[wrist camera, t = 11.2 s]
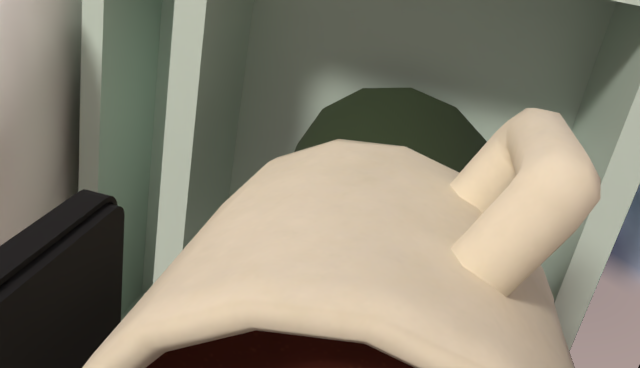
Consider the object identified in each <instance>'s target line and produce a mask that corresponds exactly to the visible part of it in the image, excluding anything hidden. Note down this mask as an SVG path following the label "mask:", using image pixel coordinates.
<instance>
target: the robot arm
mask: <svg viewBox="0 0 640 368" xmlns="http://www.w3.org/2000/svg"><path fill="white" fill-rule="evenodd" d="M124 219H125V214H124V209H123V208H122V207H121V206H118V205H117V201H116V199H115V198H114V197H113V196H110V195H106V194H102V193H98V192H94V191H90V190H86V189H83V190H81V191H79V192H77V193H76V194H74V195H73V196H71V197H70V198H69V199H67V200H66V201H64V202H63V203H61V204H60V205H58V206H57V207H56V208H54V209H53V210H51V211H50V212H48V213H47V214H45V215H44V216H43V217H41V218H40V219H38V220H37V221H35V222H34V223H32V224H31V225H30V226H28V227H27V228H25V229H24V230H22V231H21V232H19V233H18V234H17V235H15V236H14V237H12V238H11V239H9V240H8V241H6V242H5V243H4V244H2V245H1V246H0V368H82V367H83V366H84V365H85V363H86V362H87V361H88V359H89V358H90V357H91V356H92V354H93V353H94V352H95V351H96V350H97V348H98V347H99V346H100V345H101V344H102V343H103V342H104V340H105V339H106V338H107V337H108V336H109V335H110V333H111V332H112V331H113V330H114V329H115V328H116V327H117V325H118V324H119V323H120V322H121V301H122V274H123V246H124ZM638 368H640V365H639V367H638Z"/></svg>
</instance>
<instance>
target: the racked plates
mask: <svg viewBox="0 0 640 368" xmlns="http://www.w3.org/2000/svg"><path fill="white" fill-rule="evenodd" d="M81 28H82V0H0V246H1V245H2V244H4V243H5V242H6V241H8V240H9V239H11V238H12V237H14V236H15V235H17V234H18V233H19V232H21V231H22V230H24V229H25V228H27V227H28V226H30V225H31V224H32V223H34V222H35V221H37V220H38V219H40V218H41V217H43V216H44V215H45V214H47V213H48V212H50V211H51V210H53V209H54V208H56V207H57V206H58V205H60V204H61V203H63V202H64V201H66V200H67V199H69V198H70V197H71V196H73V195H74V194H76V193H77V192H78V188H79V135H80V81H81Z"/></svg>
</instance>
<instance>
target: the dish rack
mask: <svg viewBox="0 0 640 368" xmlns="http://www.w3.org/2000/svg"><path fill="white" fill-rule="evenodd" d="M362 88H413V89H416V90H418V91H420V92H423V93H425V94H427V95H429V96H432V97H434V98H436V99H439V100H441V101H443V102H445V103H448V104H450V105H452V106H455V107H457V109H458V110H459V111H460V112H461V113H462V114H463V115H464V116H465V118H466V119H467V120H468V121H469V122H470V123H471V124H472V125H473V126H474V128H475V129H476V130H477V131H478V132H479V133H480V134H481V135H482V137H483V138H484V139H485V140H486V141H488V140H489V139H490V138H491V137H492V136H493V134H494V133H495V132H496V131H497V130H498V129H499V128H500V127H501V126H503V125H504V124H505V123H506V122H507V121H508V120H509V119H511V118H512V117H514V116H515V115H517V114H518V113H520V112H521V111H523V110H524V109H526V108H538V109H543V110H548V111H552V112H557V113H560V114H561V116H562V117H563V119H564V120H565V122H566V123H567V125H568V126H569V128H570V129H571V131H572V132H573V134H574V135H575V137H576V138H577V139H578V141H579V142H580V144H581V145H582V147H583V148H584V150H585V151H586V153H587V154H588V156H589V158H590V160H591V162H592V164H593V165H594V167H595V169H596V171H597V173H598V175H599V177H600V179H601V192H600V200H599V202H598V203H597V204H596V206H595V207H594V208H593V210H592V211H591V212H590V213H589V215H588V216H587V217H586V219H585V220H584V221H583V222H582V224H581V225H580V226H579V228H578V229H577V230H576V231H575V232H574V233H573V234H572V235H571V236H570V237H569V238H568V239H567V240H566V241H565V242H564V243H563V244H562V245H561V246H560V247H559V248H558V249H557V250H556V251H555V252H554V253H553V254H552V255H551V256H550V257H548V258H547V259H546V260H545V261H544V262H543V263H542V264H541V266H542V268H543V270H544V273H545V275H546V278H547V281H548V284H549V286H550V289H551V292H552V295H553V297H554V304H555V308H556V311H557V314H558V318H559V321H560V325H561V328H562V331H563V335H564V338H565V340H566V343H567V346H568V349H569V351H570V349H571V347H572V344H573V342H574V339H575V337H576V335H577V332H578V330H579V327H580V325H581V322H582V320H583V318H584V315H585V313H586V310H587V308H588V305H589V303H590V301H591V299H592V296H593V294H594V291H595V289H596V286H597V284H598V282H599V280H600V277H601V275H602V272H603V270H604V268H605V265H606V263H607V260H608V258H609V256H610V253H611V251H612V248H613V246H614V244H615V241H616V239H617V236H618V234H619V232H620V229H621V227H622V224H623V222H624V220H625V217H626V215H627V213H628V210H629V208H630V205H631V203H632V201H633V198H634V196H635V193H636V191H637V189H638V186H639V184H640V0H82V28H81V81H80V135H79V188H78V192H79V191H81V190H83V189H86V190H90V191H94V192H98V193H102V194H106V195H110V196H113V197H114V198H115V199H116V201H117V205H118V206H121V207H122V208H123V209H124V214H125V219H124V246H123V274H122V301H121V321H122V320H123V318H124V317H125V316H126V315H127V314H128V313H129V311H130V310H131V309H132V308H133V307H134V306H135V305H136V303H137V302H138V301H139V300H140V299H141V298H142V296H143V295H144V294H145V293H146V292H147V291H148V290H149V288H150V287H151V286H152V285H153V284H154V283H155V281H156V280H157V279H158V278H159V277H160V276H161V274H162V273H163V272H164V271H165V270H166V269H167V268H168V266H169V265H170V264H171V263H172V262H173V261H174V259H175V258H176V257H177V256H178V255H179V254H180V253H181V251H182V250H183V249H184V248H185V247H186V246H187V244H188V243H189V242H190V241H191V240H192V239H193V237H194V236H195V235H196V234H197V233H198V232H199V231H200V229H201V228H202V227H203V226H204V225H205V224H206V222H207V221H208V220H209V219H210V218H211V217H212V216H213V214H214V213H215V212H216V211H217V210H218V209H219V207H220V206H221V205H222V204H223V203H224V202H225V201H226V200H227V199H229V198H230V197H231V196H232V195H233V194H234V193H235V192H236V191H237V190H238V189H239V188H240V187H242V186H243V185H244V184H245V183H246V182H247V181H248V180H249V179H250V178H251V177H252V176H254V175H255V174H256V173H257V172H258V171H259V170H260V169H261V168H262V167H263V166H264V165H265V164H267V163H268V162H270V161H271V160H273V159H275V158H277V157H280V156H283V155H287V154H290V153H293V152H294V151H295V149H296V146H297V144H298V142H299V141H300V140H301V138H302V137H303V135H304V134H305V133H306V131H307V130H308V128H309V127H310V126H311V124H312V123H313V121H314V120H315V119H316V117H317V116H318V114H319V113H320V112H321V110H322V109H323V108H325V107H327V106H329V105H331V104H333V103H335V102H337V101H339V100H340V99H342V98H344V97H346V96H348V95H350V94H352V93H354V92H356V91H358V90H360V89H362Z"/></svg>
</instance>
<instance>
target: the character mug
mask: <svg viewBox="0 0 640 368" xmlns="http://www.w3.org/2000/svg"><path fill="white" fill-rule="evenodd" d="M600 192H601V179H600V177H599V175H598V173H597V171H596V169H595V167H594V165H593V164H592V162H591V160H590V158H589V156H588V154H587V153H586V151H585V150H584V148H583V147H582V145H581V144H580V142H579V141H578V139H577V138H576V137H575V135H574V134H573V132H572V131H571V129H570V128H569V126H568V125H567V123H566V122H565V120H564V119H563V117H562V116H561V114H560V113H557V112H552V111H548V110H543V109H538V108H526V109H524V110H523V111H521V112H520V113H518V114H517V115H515V116H514V117H512V118H511V119H509V120H508V121H507V122H506V123H505V124H504V125H503V126H501V127H500V128H499V129H498V130H497V131H496V132H495V133H494V134H493V136H492V137H491V138H490V139H489V140H488V141H486V140H485V139H484V138H483V137H482V135H481V134H480V133H479V132H478V131H477V130H476V129H475V128H474V126H473V125H472V124H471V123H470V122H469V121H468V120H467V119H466V118H465V116H464V115H463V114H462V113H461V112H460V111H459V110H458V109H457V107H455V106H452V105H450V104H448V103H445V102H443V101H441V100H439V99H436V98H434V97H432V96H429V95H427V94H425V93H423V92H420V91H418V90H416V89H413V88H362V89H360V90H358V91H356V92H354V93H352V94H350V95H348V96H346V97H344V98H342V99H340V100H339V101H337V102H335V103H333V104H331V105H329V106H327V107H325V108H323V109H322V110H321V112H320V113H319V114H318V116H317V117H316V119H315V120H314V121H313V123H312V124H311V126H310V127H309V128H308V130H307V131H306V133H305V134H304V135H303V137H302V138H301V140H300V141H299V142H298V144H297V146H296V149H295V151H294V152H293V153H290V154H287V155H283V156H280V157H277V158H275V159H273V160H271V161H270V162H268V163H267V164H265V165H264V166H263V167H262V168H261V169H260V170H259V171H258V172H257V173H256V174H255V175H254V176H252V177H251V178H250V179H249V180H248V181H247V182H246V183H245V184H244V185H243V186H242V187H240V188H239V189H238V190H237V191H236V192H235V193H234V194H233V195H232V196H231V197H230V198H229V199H227V200H226V201H225V202H224V203H223V204H222V205H221V206H220V207H219V209H218V210H217V211H216V212H215V213H214V214H213V216H212V217H211V218H210V219H209V220H208V221H207V222H206V224H205V225H204V226H203V227H202V228H201V229H200V231H199V232H198V233H197V234H196V235H195V236H194V237H193V239H192V240H191V241H190V242H189V243H188V244H187V246H186V247H185V248H184V249H183V250H182V251H181V253H180V254H179V255H178V256H177V257H176V258H175V259H174V261H173V262H172V263H171V264H170V265H169V266H168V268H167V269H166V270H165V271H164V272H163V273H162V274H161V276H160V277H159V278H158V279H157V280H156V281H155V283H154V284H153V285H152V286H151V287H150V288H149V290H148V291H147V292H146V293H145V294H144V295H143V296H142V298H141V299H140V300H139V301H138V302H137V303H136V305H135V306H134V307H133V308H132V309H131V310H130V311H129V313H128V314H127V315H126V316H125V317H124V318H123V320H122V321H121V322H120V323H119V324H118V325H117V327H116V328H115V329H114V330H113V331H112V332H111V333H110V335H109V336H108V337H107V338H106V339H105V340H104V342H103V343H102V344H101V345H100V346H99V347H98V348H97V350H96V351H95V352H94V353H93V354H92V356H91V357H90V358H89V359H88V361H87V362H86V363H85V365H84V366H83V367H82V368H575V367H574V364H573V361H572V358H571V355H570V352H569V349H568V346H567V343H566V340H565V338H564V335H563V331H562V328H561V325H560V321H559V318H558V314H557V311H556V308H555V304H554V297H553V295H552V292H551V289H550V286H549V284H548V281H547V278H546V275H545V273H544V270H543V268H542V266H541V264H542V263H543V262H544V261H545V260H546V259H547V258H548V257H550V256H551V255H552V254H553V253H554V252H555V251H556V250H557V249H558V248H559V247H560V246H561V245H562V244H563V243H564V242H565V241H566V240H567V239H568V238H569V237H570V236H571V235H572V234H573V233H574V232H575V231H576V230H577V229H578V228H579V226H580V225H581V224H582V222H583V221H584V220H585V219H586V217H587V216H588V215H589V213H590V212H591V211H592V210H593V208H594V207H595V206H596V204H597V203H598V202H599V200H600Z"/></svg>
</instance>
